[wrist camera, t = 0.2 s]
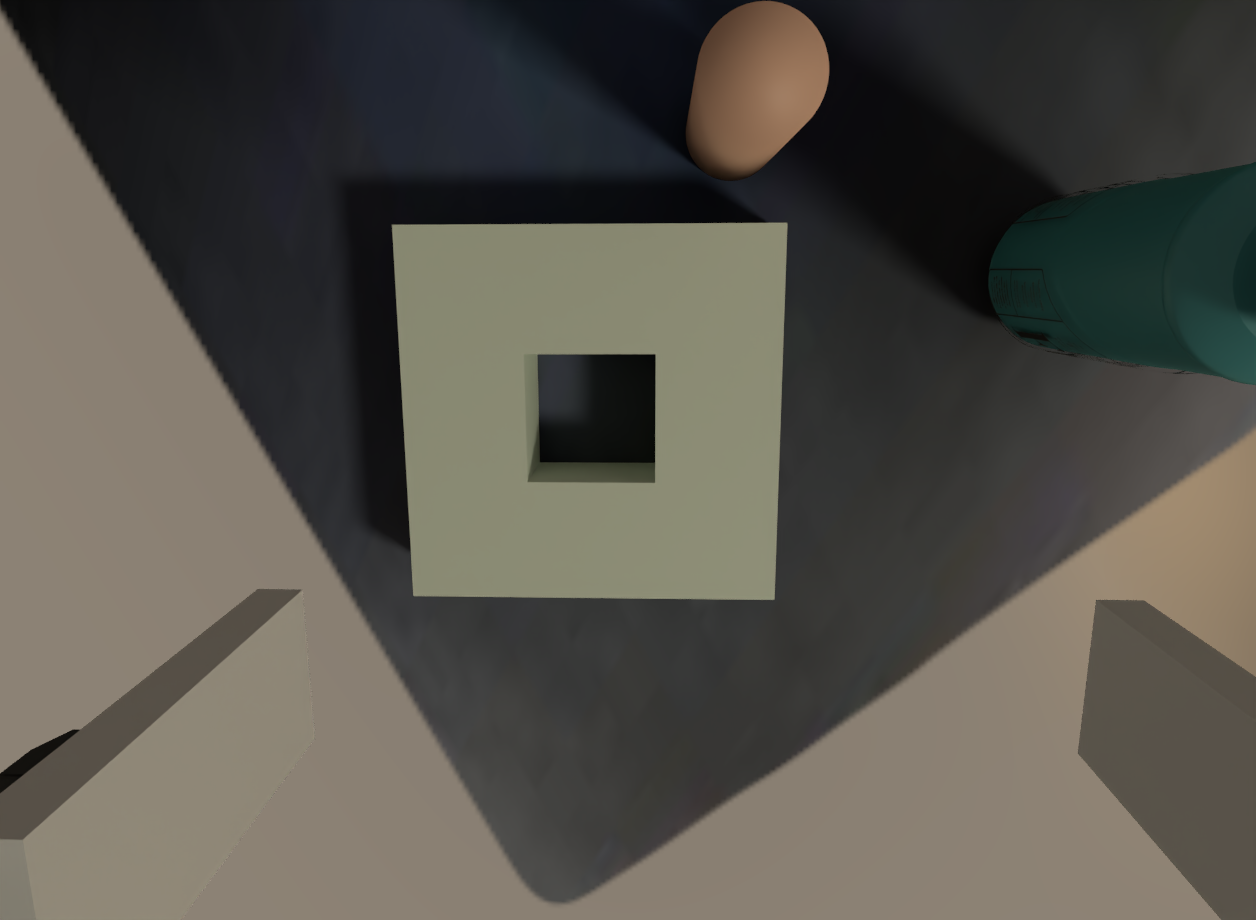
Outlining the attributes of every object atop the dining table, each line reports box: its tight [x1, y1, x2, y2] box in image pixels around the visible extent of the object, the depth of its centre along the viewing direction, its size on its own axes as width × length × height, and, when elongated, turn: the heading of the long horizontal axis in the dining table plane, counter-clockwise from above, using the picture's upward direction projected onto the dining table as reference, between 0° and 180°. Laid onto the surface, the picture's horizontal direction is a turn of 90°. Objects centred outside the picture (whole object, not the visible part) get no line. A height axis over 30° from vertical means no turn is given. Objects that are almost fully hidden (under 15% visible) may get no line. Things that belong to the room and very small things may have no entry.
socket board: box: [392, 223, 787, 600], centre depth 39 cm, size 16×16×4 cm
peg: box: [686, 1, 829, 181], centre depth 32 cm, size 4×4×12 cm
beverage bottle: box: [988, 162, 1256, 385], centre depth 29 cm, size 6×7×20 cm
